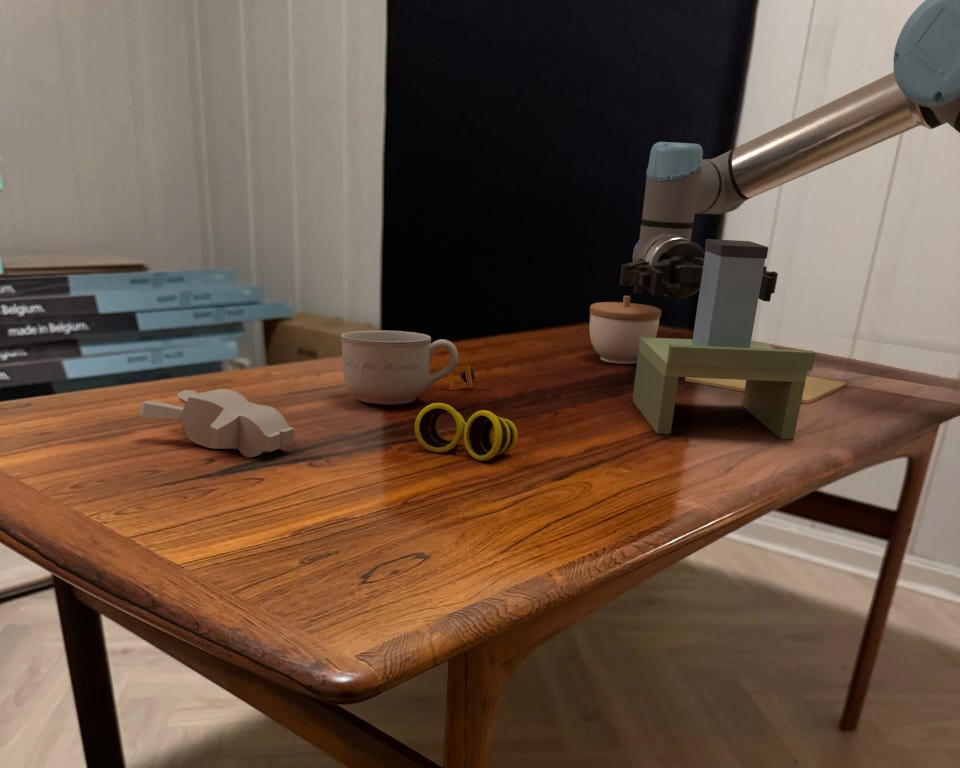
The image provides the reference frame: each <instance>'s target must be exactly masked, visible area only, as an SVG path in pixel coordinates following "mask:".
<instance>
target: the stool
mask: <svg viewBox="0 0 960 768" xmlns="http://www.w3.org/2000/svg"><path fill="white" fill-rule="evenodd" d="M692 340H693V338H669V337H656V338H649V337H640V342H639V351H638V359H637V363H636V368H635V374H634V375H635V376H634V384H633V392H632V403H633V404H634V405H635V406H636V408H637V409H638V410H639V412H640V413H641V414H642V416H643V417H644V418H645V420H646V421H647V422H648V424H649V425H650V426H651V427H652V429H653V431H654V432H655V433H656V435H671V434H672V433H671V432H672V427H673V421H674V420H673V419H674V415H675V406H676V401H677V393H678V386H679V378H686V377H689V378H713V379H736V380H746V384H745V390H744V392H743V396H742V400H741V406H742V407H743V408H744V409H745V410H747V411H748V412H749V413H750V414H751V415H753V417H754V418H756V419H757V420H758V421H759V422H760V423H762V424H763V426H765V427H766V428H767V429H769V430H770V431H771V432H772V433H773V434H774V435H775V436H777V437H778V438H779V439H780V440H794V439H795V436H796V431H797V425H798V421H799V415H800V410H801V406H802V403H801V401H802V396H803V391H804V387H805V382H806V377H807V376H808V372H812V371H813V367H814V363H815V362H814V361H815V358H816V352H815V351H813V350H807V349H804V350H803V349H786V348H785V349H782V348H774V347H773V346H771V345H770V344H768V343H767V342H763V341H762V342H761V341H760V342H759V341H758V342H757V341H751V345H750V348H740V347H717V346H695V345H692Z"/></svg>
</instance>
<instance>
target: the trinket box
mask: <svg viewBox="0 0 960 768" xmlns="http://www.w3.org/2000/svg"><path fill="white" fill-rule="evenodd" d="M661 316H662V310H661V308H658V307H656V306H653V305H648V304H643V303H633V302H631V295H623V301H622V302H621V301H604V302H602V301H601V302H594V303H592V304H590V306H589V326H588V327H589V329H588V330H589V336H590V337H589V339H590V342H591V345H592V347H593V349H594V351H595V352H596V353H597V355H598V356H599V359H600V360H601V361H603V362H607V363H613V364H621V365H632V364H637V359H638V351H639V342H640V337H649V338H657V335H658V331H659V327H660V319H661Z"/></svg>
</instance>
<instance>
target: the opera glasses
mask: <svg viewBox="0 0 960 768" xmlns="http://www.w3.org/2000/svg"><path fill="white" fill-rule="evenodd" d="M448 414H450V415H451V416H452V417H453V419H454V421H455V425H456V431H455V436H454V438H446V437H444V436H442V434H441V433H440V431H439V429H438V424H439V421H440V420H441V418H442V417H444V416H445V415H448ZM414 433H415V437H416V439H417V441H418V442H419V444H420V445H421V446H422V447H423V448H424V449H425V450H428V451H429V452H431V453H436V454H442V453H446V452H449V451H451V450H453V449H454V448H455V447H456V446H457V445H458V444H459V442H460V440H462V439H463V443H464V446H465V449H466V451H467V452H468V454H469V455H470V457H472V458H473V459H475V460H476V461H480V462H486V461H490V460H491V459H493V458H494V457H495V456H498V455H500V454H505V453H509V452H510V451H512V450H513V449H514V448H515V446H516V444H517V441H518V438H519V436H518V435H519V433H518V428H517V427H516V425H515V423H513V421H512V420H510V419H508V418H502V417H500V416H498V415H496V414H494V413H493V412H492V411H490V410H485V409H481V410H477V411H475V412H474V413H473V414H471V416H470V417H469V418H468V420H467V421H465V419H464V417H463V415H462V414H461V413H460V412H458V411H457V410H456V409H455V408H454V407H453V406H451V405H449V404H446V403H442V402H433V403H430V404H428V405H426V406H425V407H423V408H422V409H421V410H420V411H419V413H418V414H417V416H416V418H415V421H414ZM493 433H494V440H493Z"/></svg>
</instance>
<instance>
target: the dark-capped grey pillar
mask: <svg viewBox="0 0 960 768" xmlns="http://www.w3.org/2000/svg"><path fill="white" fill-rule="evenodd" d="M704 244H705V245H704V252H705V258H704V265H703V272H702V279H701V286H700V289H699V293H698V300H697V306H696V314H695V321H694V328H693V333H692V335H693V336H692V339H693V340H692V345H695V346H717V347H740V348H750V345H751V342H752V339H753V332H754V326H755V321H756V315H757V309H758V304H759V300H760V299H759V293H760V287H761V281H762V276H763V270H764V266H765V264H766V259H767V258H768V253H769V246H766V245H763V244H760V243H756V242H754V241H751V240H735V239H734V240H732V239H715V238H714V239H713V238H706V239H705V243H704Z"/></svg>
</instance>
